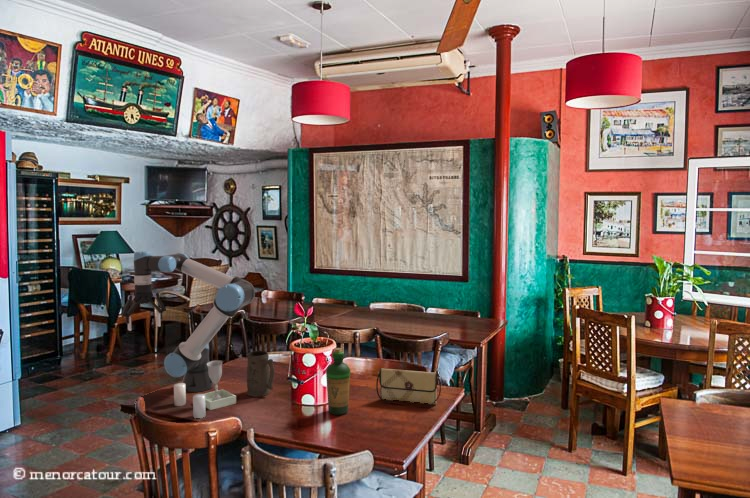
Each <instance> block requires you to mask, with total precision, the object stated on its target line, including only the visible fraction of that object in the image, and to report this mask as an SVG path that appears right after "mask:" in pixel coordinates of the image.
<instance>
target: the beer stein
mask: <svg viewBox="0 0 750 498" xmlns="http://www.w3.org/2000/svg"><path fill="white" fill-rule="evenodd" d="M246 358H247V367H246V387H247V392H246V394H247V395H248V396H250V397H253V398H254V397H257V398H259V397H260V398H261V397H264V396H265V397H266V396H267V395H269V394H270V392H271V391H272V390H273V389H274V387H273V382H274V379H275V366H274V362H273V361H274V360H273V359H272V358H269V352H267V351H264V350H253V351H250V352H248V353H247V357H246Z"/></svg>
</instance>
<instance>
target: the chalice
mask: <svg viewBox="0 0 750 498" xmlns="http://www.w3.org/2000/svg"><path fill="white" fill-rule="evenodd" d="M207 366H208V374H209V377H210V379H211V380H212V382H213V384H214V389H215V390H214V391H215V393H216V394H215V395H214V396H213V398H212V401H215V400H219V399H222V397H221V396H220V395H219V394H218V390H219V389H218V388H219V386H218V383H219V382H220V380H221V377H222V374H223V360H209V362H208V363H207Z"/></svg>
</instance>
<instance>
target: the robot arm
mask: <svg viewBox="0 0 750 498" xmlns="http://www.w3.org/2000/svg"><path fill="white" fill-rule="evenodd" d="M133 270H134V271H133V272H134V276H133V278H134V280H133V282H134V295H130V294H128V295H127V301H126V303H125V304H124V306H123V308H122V311H121V313H120V315H121V316H123V317H125V320H124V321H125V324H126V325H127V331H129V332H131V331H132V317H131V315H132V313H133V312H134V311H135V309H136V308H137V307H138V306H139V305H144V304H150V305H151V306H152V308H154V309H155V310H156V311H157V312H156V326H157V327H159V328H160V327H161V323H162V321H161V320H163V313H164V312H166V311H167V308H166V307H165V305H164V303H163V302H162V299H161V297H160V294H159V292H154V293H153V285H152V278H153V277H152V276H153V275H152V272H153V273H154V272H155V273H172V272H174V271H175V270H176V271H178V272H180V273H182V274H185V275H187V276H189V277H192V278H193V279H196V280H199V281H201V282H203V283H205V284H208V285H211V286H213V287H214V288H217V289H218V290H217V292H216V294H215V299H214V300H213V301H212V302H213V303H212V304H213V307H212V308H211V309H210V310H209V312H208V313H207V315H206V316H205V317H204V318H203V319H202V321H201V322H200V323H199V324H198V326H196V328H195V330H194V331H193V332H192V333H191V335H190V336H189V337H188V338H187V339H186V341H181V342H180V343H179V344H178V346H177V347H176V348H175V350H173V352H169V354H167V355H166V356H165V358H164V360H163V364H164V369H165V371H166V373H167V374H168V375H169V376H170V377H173V378H180V377H183V378H182V381H181V383H185V384H186V393H199V392H204V391H208V390H211V389H212V388H213V387H214V383H213V382H212V380H211V379H210V377H209V374H208V366H207V363H208V362H210V346H209V343H210V342H211V341H212V339H213V338H214V337H215V335H216V334H217V333H218V332H219V331H220V330H221V328H222V327H223V326H224V324H225V323H226V322H227V320H228V319H229V318H234V317H235V316H236V315H237V313H238V312H239V311H241V309H242V307H245V306H247V305H249V304H251V303H252V302H253V300H254V299H255V297H256V289H255V287H254V285H253V284H252V283H251V282H249V281H248V280H246V279H244V278H241V277H239V276H232V275H228V274H226V273H224V272H222V271H219V270H217V269H215V268H212V267H210V266H208V265H206V264H203V263H200V262H198V261H195V260H193V259H191V258H190V257H189V256H188V254H186V253H179V252H177V253H174V254H166V255H152V252H151V251H149V250H147V251H146V250H142V251H140V250H139V251H135V252H134V253H133ZM153 297H154V298H155V300H156V302H157V303H158V304H157V303H155V302H154V301H153ZM133 300H134V302H133V303H132V301H133ZM131 304H132V305H131ZM158 305H159V306H158Z"/></svg>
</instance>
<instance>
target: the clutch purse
mask: <svg viewBox="0 0 750 498" xmlns="http://www.w3.org/2000/svg"><path fill="white" fill-rule="evenodd" d="M440 378H441V377H439V376H438V372H431V371H418V370H407V369H405V370H404V369H394V368H381V367H380V368H379V371H377V378H376V387H375V388H376V389H375V390H376V394H377V397H378V398H379V399H380V400H381V401H383V402H385V403H387V404H390V403H393V402H392V401H393V400H399V401H398V402H403V401H410V402H409V403H414V402H420V403H419V404H424V403H428V404H427V405H423V406H424V407H425V408H429V407H431V406H433V405H435V404H436V405H437V401H438V399H439V397H440V396H441V389H442V383H441V379H440ZM438 382H439V390H438V389H437V388H438ZM378 385H380V393H379V387H378ZM437 390H438V391H439V392H438V396H437ZM384 399H386V400H384Z"/></svg>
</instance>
